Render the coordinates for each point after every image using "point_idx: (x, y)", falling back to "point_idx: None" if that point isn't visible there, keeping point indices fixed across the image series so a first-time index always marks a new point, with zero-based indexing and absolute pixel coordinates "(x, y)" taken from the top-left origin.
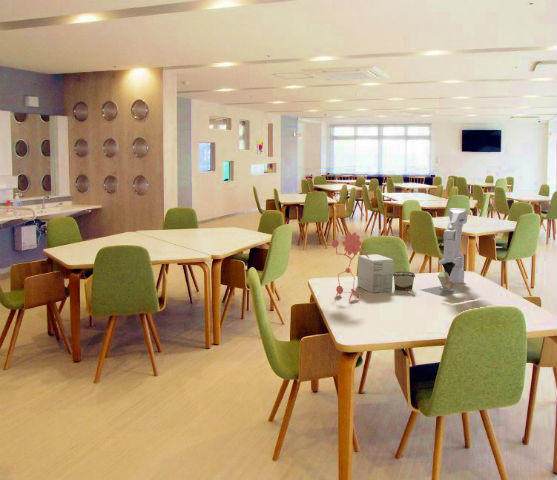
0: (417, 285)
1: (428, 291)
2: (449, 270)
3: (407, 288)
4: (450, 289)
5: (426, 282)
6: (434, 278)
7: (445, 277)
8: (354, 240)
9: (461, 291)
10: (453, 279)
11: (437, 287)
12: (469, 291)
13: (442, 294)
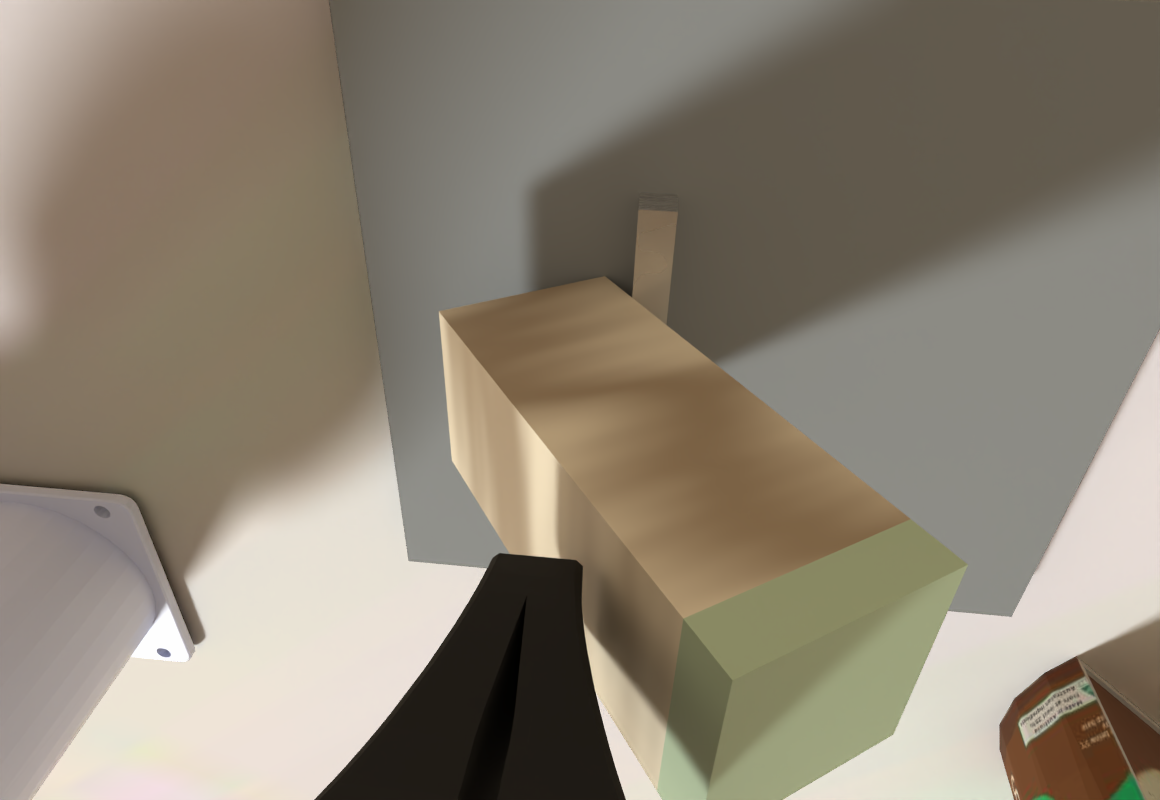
0: None
1: (1027, 477)
2: (563, 749)
3: (1140, 734)
4: None
5: None
6: (174, 789)
7: (824, 532)
8: None
9: (384, 53)
10: (58, 602)
11: None
12: (84, 47)
13: (1088, 141)
